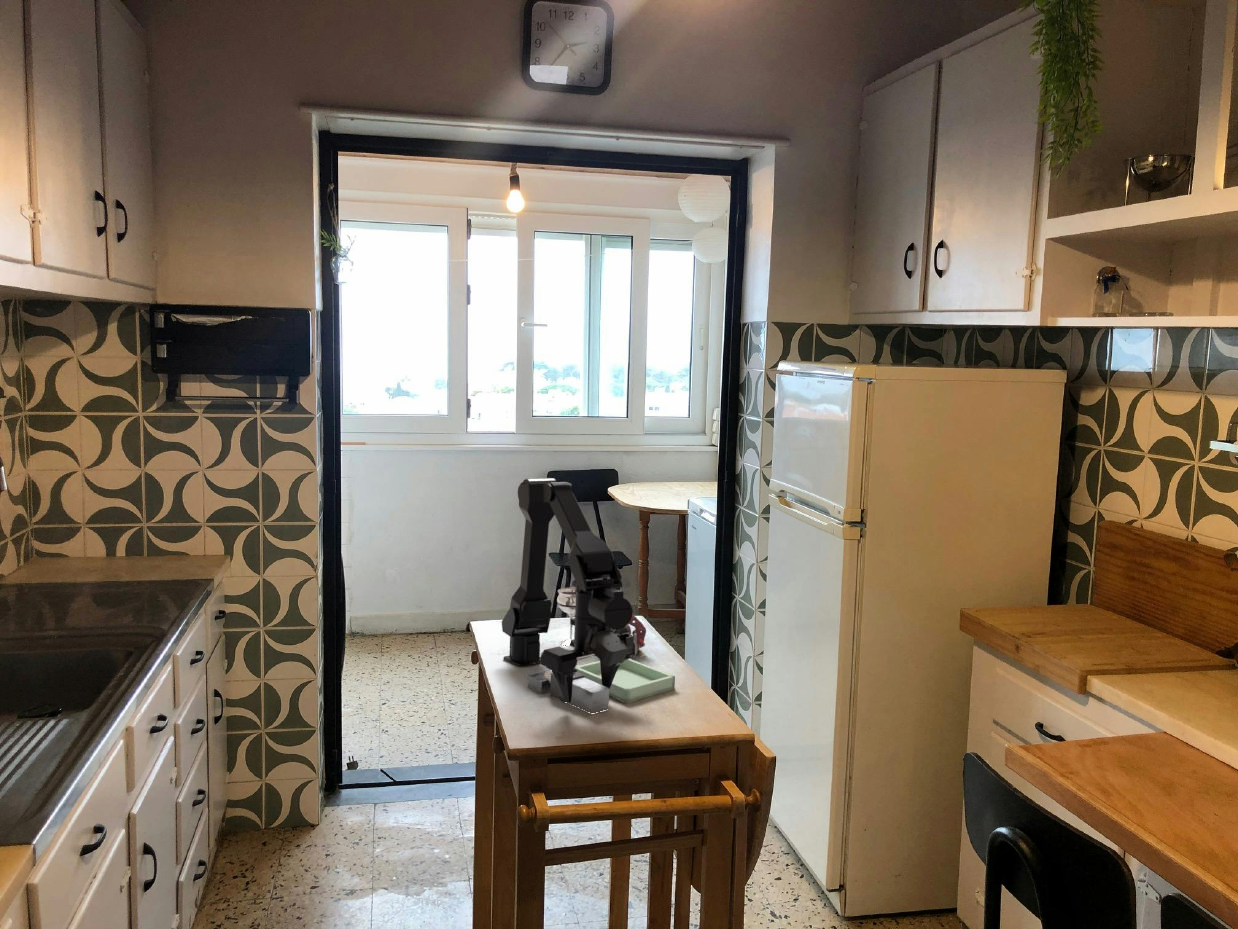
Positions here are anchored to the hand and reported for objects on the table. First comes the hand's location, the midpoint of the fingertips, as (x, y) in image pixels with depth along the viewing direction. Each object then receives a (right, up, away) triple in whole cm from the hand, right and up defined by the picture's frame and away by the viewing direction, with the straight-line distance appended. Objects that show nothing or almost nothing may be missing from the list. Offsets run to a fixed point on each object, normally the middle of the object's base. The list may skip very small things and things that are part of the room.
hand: (587, 696), depth 177 cm
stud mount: (-8, 0, +9) cm, 12 cm away
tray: (+7, -1, +13) cm, 14 cm away
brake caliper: (+6, +1, +33) cm, 33 cm away
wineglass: (-5, +3, +38) cm, 39 cm away
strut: (-2, -2, +2) cm, 3 cm away
